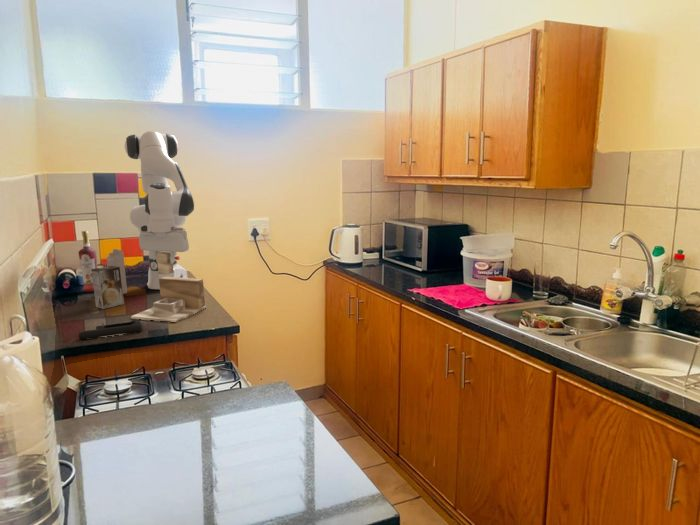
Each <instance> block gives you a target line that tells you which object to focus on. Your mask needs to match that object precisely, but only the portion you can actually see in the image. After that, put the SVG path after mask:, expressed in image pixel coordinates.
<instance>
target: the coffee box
mask: <svg viewBox="0 0 700 525" xmlns="http://www.w3.org/2000/svg"><path fill="white" fill-rule="evenodd" d="M91 271H92V279H93V287H94V292H93V293H94V294H93V295H94V300H95V301H94V302H95V307H96V308H98V309H101V310H105V309H108V308H109V309H111V308H114V307H117V306H122V305H124V304H125V303H124V302H125V301H124V294H123V291H122V283H121V274H120V267H116V266H107V265H106V266H103V267H97V268H96V269H91Z"/></svg>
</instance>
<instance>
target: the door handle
mask: <svg viewBox="0 0 700 525" xmlns="http://www.w3.org/2000/svg"><path fill="white" fill-rule="evenodd" d="M140 331H141V332H143V325H142V322H141V321H140V320H139V319H132V320H131V321H127V322H121V323H114V324H113V323H111V324H106V325H105V324H104V322H99V323H98V325H96V327H95V329H89V330H82V331H79V332H78V340H79V339H81V340H82V339H86V340H88V339H87V338H94V339H98V338H97V337H105V338H108V337H107V336H112V337H115V336H114V335H119V336H124V335H123V334H125V335H127V334H126V333H130V334H135V333H134V332H138V333H141V332H140Z"/></svg>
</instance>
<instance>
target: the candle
mask: <svg viewBox="0 0 700 525" xmlns="http://www.w3.org/2000/svg"><path fill="white" fill-rule="evenodd" d="M107 266H116V267H120V274H121V283H122V291H123V295H124V294H127V293H128V289H127V288H128V287H127V276H126V268H125V255H124V251H123V250H121V249H117V248H113V249H112V252H109V253H108V255H107V256H106V267H107Z"/></svg>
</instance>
